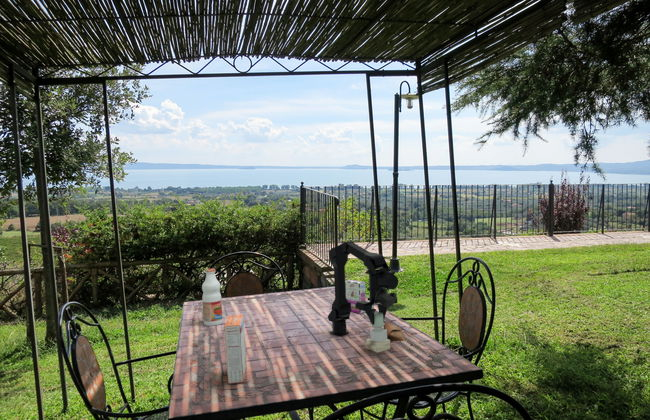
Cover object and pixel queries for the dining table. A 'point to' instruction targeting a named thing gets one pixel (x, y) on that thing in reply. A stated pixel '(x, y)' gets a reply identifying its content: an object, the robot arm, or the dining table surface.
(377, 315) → the mint green cylinder
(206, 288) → the fruit juice
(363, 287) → the candy bar box
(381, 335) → the grey top block
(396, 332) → the sunglasses case
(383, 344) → the birch base block
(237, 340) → the cracker box
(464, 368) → the dining table surface
